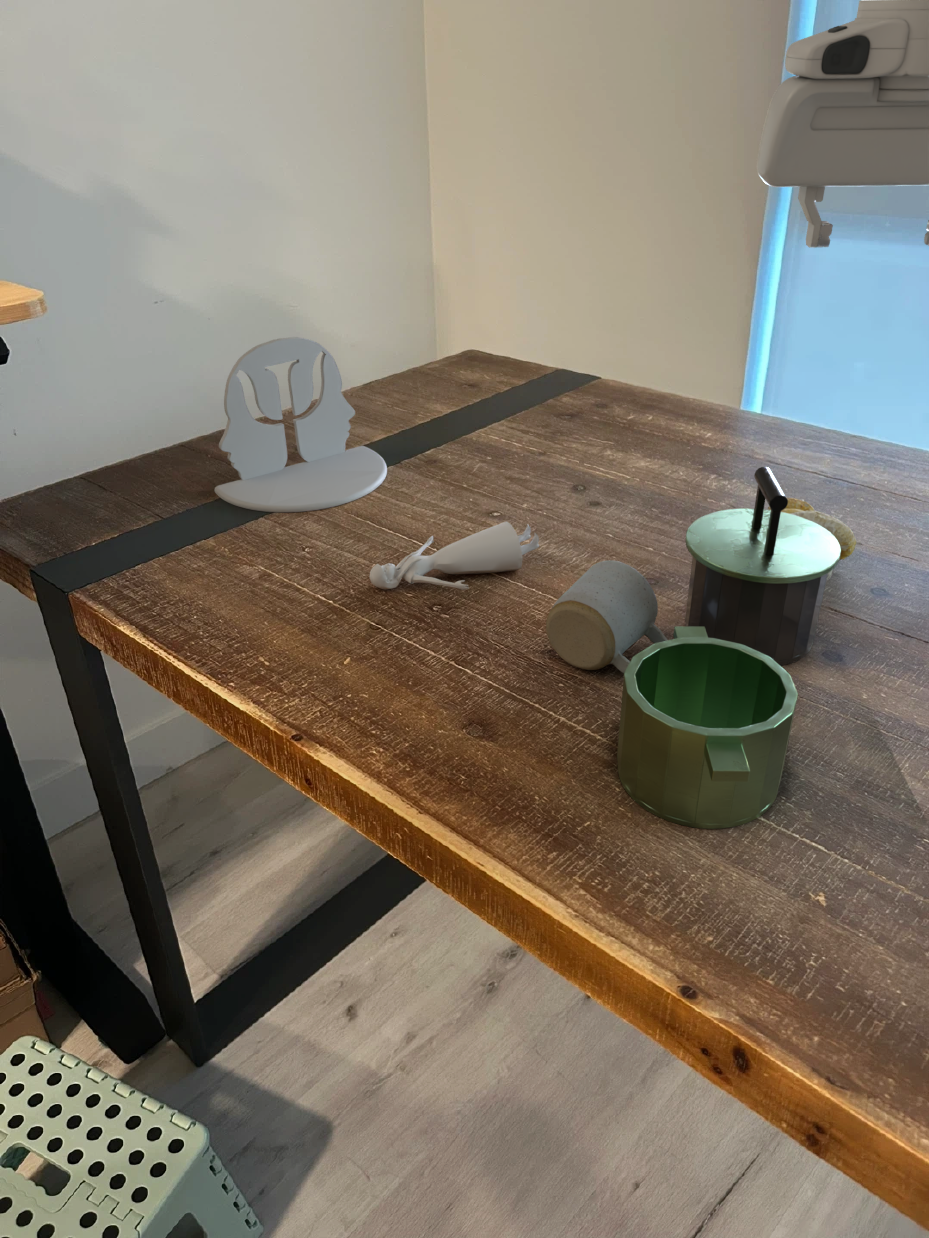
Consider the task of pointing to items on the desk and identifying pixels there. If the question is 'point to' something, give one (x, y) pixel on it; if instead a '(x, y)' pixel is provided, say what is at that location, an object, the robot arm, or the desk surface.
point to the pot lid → (763, 540)
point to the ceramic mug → (603, 616)
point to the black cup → (756, 612)
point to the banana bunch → (824, 525)
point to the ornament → (317, 433)
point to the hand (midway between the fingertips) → (876, 246)
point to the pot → (704, 730)
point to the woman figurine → (460, 558)
